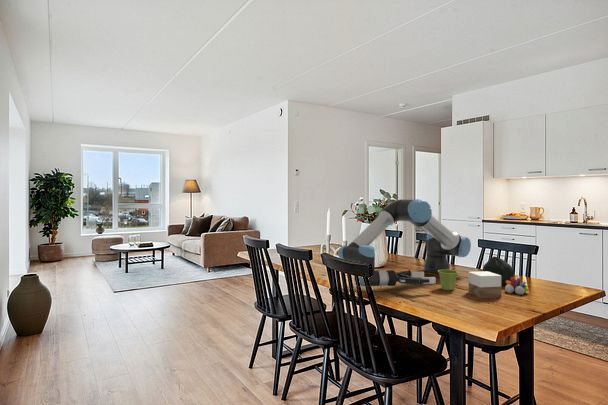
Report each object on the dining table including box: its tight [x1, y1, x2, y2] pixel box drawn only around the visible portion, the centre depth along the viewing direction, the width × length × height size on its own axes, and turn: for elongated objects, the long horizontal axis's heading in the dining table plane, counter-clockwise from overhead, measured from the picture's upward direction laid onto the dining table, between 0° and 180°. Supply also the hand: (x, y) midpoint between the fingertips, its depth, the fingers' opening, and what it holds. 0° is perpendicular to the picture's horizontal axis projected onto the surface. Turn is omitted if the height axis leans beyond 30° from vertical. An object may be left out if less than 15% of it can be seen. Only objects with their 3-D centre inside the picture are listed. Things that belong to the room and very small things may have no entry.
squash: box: [482, 256, 515, 286], centre depth 197 cm, size 14×15×15 cm
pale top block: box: [467, 271, 502, 287], centre depth 175 cm, size 10×10×5 cm
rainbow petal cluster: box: [504, 276, 529, 296], centre depth 179 cm, size 8×10×7 cm
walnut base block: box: [468, 283, 503, 299], centre depth 175 cm, size 10×10×5 cm
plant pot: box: [438, 269, 459, 291], centre depth 186 cm, size 9×9×9 cm
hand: (429, 277), depth 185 cm, fingers open, 13 cm apart
